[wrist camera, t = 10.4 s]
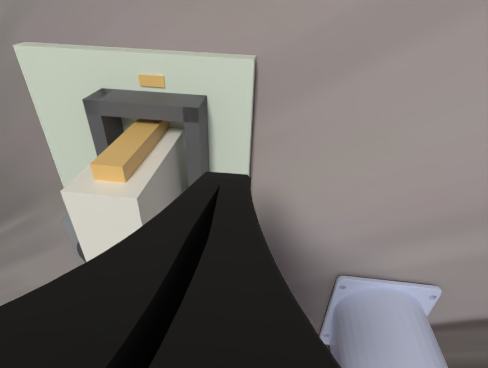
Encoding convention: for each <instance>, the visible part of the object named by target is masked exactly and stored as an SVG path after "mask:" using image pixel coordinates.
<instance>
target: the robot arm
mask: <svg viewBox="0 0 488 368" xmlns="http://www.w3.org/2000/svg"><path fill="white" fill-rule="evenodd" d="M250 188H251V178H250V177H249V176H248V175H247V174H234V173H221V172H207V171H206V172H205V173H204V174H203V175H201V176H200V177H199V178H198V179H197V180H196V181H195V182H194V183H193V184H192V185H190V186H189V187H188V188H187V189H186V190H185V191H184V192H183V193H182V194H181V195H179V196H178V197H177V198H176V199H175V200H174V201H173V202H171V203H170V204H169V205H168V206H167V207H166V208H164V209H163V210H162V211H161V212H160V213H158V214H157V215H156V216H154V217H153V218H152V219H151V220H149V221H148V222H147V223H145V224H144V225H143V226H142V227H140V228H139V229H138V230H136V231H135V232H133V233H132V234H131V235H129V236H128V237H126V238H125V239H123V240H122V241H120V242H119V243H117V244H116V245H114V246H112V247H111V248H109V249H108V250H106V251H105V252H103V253H101V254H100V255H98V256H96V257H95V258H93V259H91V260H89V261H88V262H86V263H84V264H82V265H80V266H79V267H77V268H75V269H73V270H71V271H70V272H68V273H66V274H64V275H62V276H60V277H59V278H57V279H55V280H53V281H51V282H49V283H47V284H46V285H44V286H41V287H39V288H37V289H35V290H33V291H31V292H29V293H27V294H25V295H23V296H21V297H19V298H17V299H15V300H13V301H10V302H8V303H6V304H4V305H2V306H0V368H448V366H447V364H446V362H445V359H444V357H443V355H442V352H441V350H440V347H439V345H438V343H437V340H436V338H435V336H434V333H433V331H432V329H431V326H430V324H429V322H428V319H427V316H428V314H429V313H430V311H431V309H432V308H433V306H434V305H435V303H436V301H437V300H438V298H439V297H440V295H441V293H442V292H441V289H440V287H438V286H434V285H425V284H416V283H406V282H397V281H388V280H379V279H370V278H361V277H352V276H339V277H338V278H337V280H336V283H335V286H334V289H333V293H332V296H331V299H330V302H329V306H328V309H327V312H326V315H325V319H324V322H323V325H322V328H321V332H320V335H318V334H317V333H316V331H315V329H314V328H313V326H312V325H311V323H310V322H309V320H308V318H307V317H306V315H305V314H304V312H303V311H302V309H301V307H300V306H299V304H298V303H297V301H296V300H295V298H294V296H293V295H292V293H291V291H290V289H289V288H288V286H287V284H286V282H285V280H284V279H283V277H282V275H281V273H280V271H279V269H278V267H277V265H276V263H275V261H274V259H273V257H272V255H271V253H270V250H269V248H268V246H267V243H266V241H265V238H264V236H263V233H262V231H261V228H260V225H259V222H258V219H257V216H256V213H255V209H254V206H253V202H252V196H251V190H250ZM325 344H328V345H330V351H329V350H328V348H327V347H326V345H325Z"/></svg>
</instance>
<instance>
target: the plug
mask: <svg viewBox="0 0 488 368" xmlns="http://www.w3.org/2000/svg"><path fill="white" fill-rule="evenodd" d="M188 187H189V182H188V170H187V158H186V145H185V133H184V128H171V127H170V125H169V121H164V120H150V119H137V120H136V121H135V122H134V123H133V124H132V125H131V126H130V127H129V128H128V129H127V130H126V131H125V132H123V133H122V134H121V135H120V136H119V137H118V138H117V139H116V140H115V141H114V142H113V143H112V144H111V145H110V146H108V147H107V148H106V149H105V150H104V151H103V152H102V153H101V154H100V155H99V156H98V157H97V158H96V159H95V160H93V161H92V162H91V163H90V164H89V165H88V166H87V167H86V168H85V169H84V170H83V171H82V172H81V173H80V174H78V175H77V176H76V177H75V178H74V179H73V180H72V181H71V182H70V183H69V184H68V185H67V186H66V187H64V188H63V189H62V190H61V191H60V192H61V194H62V197H63V200H64V202H65V205H66V208H67V211H68V213H69V216H70V219H71V221H72V224H73V227H74V230H75V232H76V235H77V238H78V240H79V243H80V246H81V249H82V251H83V254H84V257H85V259H86V262H88V261H89V260H91V259H93V258H95V257H96V256H98V255H100V254H101V253H103V252H105V251H106V250H108V249H109V248H111V247H112V246H114V245H116V244H117V243H119V242H120V241H122V240H123V239H125V238H126V237H128V236H129V235H131V234H132V233H133V232H135V231H136V230H138V229H139V228H140V227H142V226H143V225H144V224H145V223H147V222H148V221H149V220H151V219H152V218H153V217H154V216H156V215H157V214H158V213H160V212H161V211H162V210H163V209H164V208H166V207H167V206H168V205H169V204H170V203H171V202H173V201H174V200H175V199H176V198H177V197H178V196H179V195H181V194H182V193H183V192H184V191H185V190H186V189H187V188H188Z"/></svg>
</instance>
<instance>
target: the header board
mask: <svg viewBox="0 0 488 368" xmlns="http://www.w3.org/2000/svg"><path fill="white" fill-rule="evenodd" d="M13 47H14V50H15V53H16V55H17V58H18V61H19V64H20V67H21V69H22V72H23V75H24V78H25V81H26V83H27V86H28V89H29V92H30V95H31V97H32V100H33V103H34V106H35V109H36V111H37V114H38V117H39V120H40V123H41V125H42V128H43V131H44V134H45V137H46V139H47V142H48V145H49V148H50V151H51V153H52V156H53V159H54V162H55V165H56V167H57V170H58V173H59V176H60V179H61V181H62V184H63V187H66V186H67V185H68V184H69V183H70V182H71V181H72V180H73V179H74V178H75V177H76V176H77V175H78V174H80V173H81V172H82V171H83V170H84V169H85V168H86V167H87V166H88V165H89V164H90V163H91V162H92V161H93V160H95V159H96V158H97V157H98V156H99V155H100V154H101V153H102V152H103V151H104V150H105V149H106V148H107V147H108V146H110V145H111V144H112V143H113V142H114V141H115V140H116V139H117V138H118V137H119V136H120V135H121V134H122V133H123V132H125V131H126V130H127V129H128V128H129V127H130V126H131V125H132V124H133V123H134V122H135V121H136V120H137V119H150V120H164V121H169V125H170V127H171V128H184V133H185V145H186V158H187V170H188V182H189V186H190V185H192V184H193V183H194V182H195V181H196V180H197V179H198V178H199V177H200V176H201V175H203V174H204V173H205V172H206V171H207V172H221V173H234V174H247V175H248V176H249V177H250V158H251V139H252V120H253V101H254V82H255V62H256V56H255V55H238V54H221V53H204V52H187V51H170V50H153V49H136V48H120V47H103V46H86V45H69V44H52V43H35V42H24V43H19V44H15V45H13ZM61 221H62V224H63V226H64V229H65V231H66V234H67V237H68V239H69V242H70V244H71V247H72V249H73V252H74V254H75V257H76V260H77V262H78V265H79V266H80V265H82V264H84V263H86V259H85V257H84V254H83V251H82V249H81V246H80V243H79V240H78V238H77V235H76V232H75V230H74V227H73V224H72V221H71V219H70V216H69V213H68V214H67V215H66V216H65V217H64V218H63V219H62V220H61Z"/></svg>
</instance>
